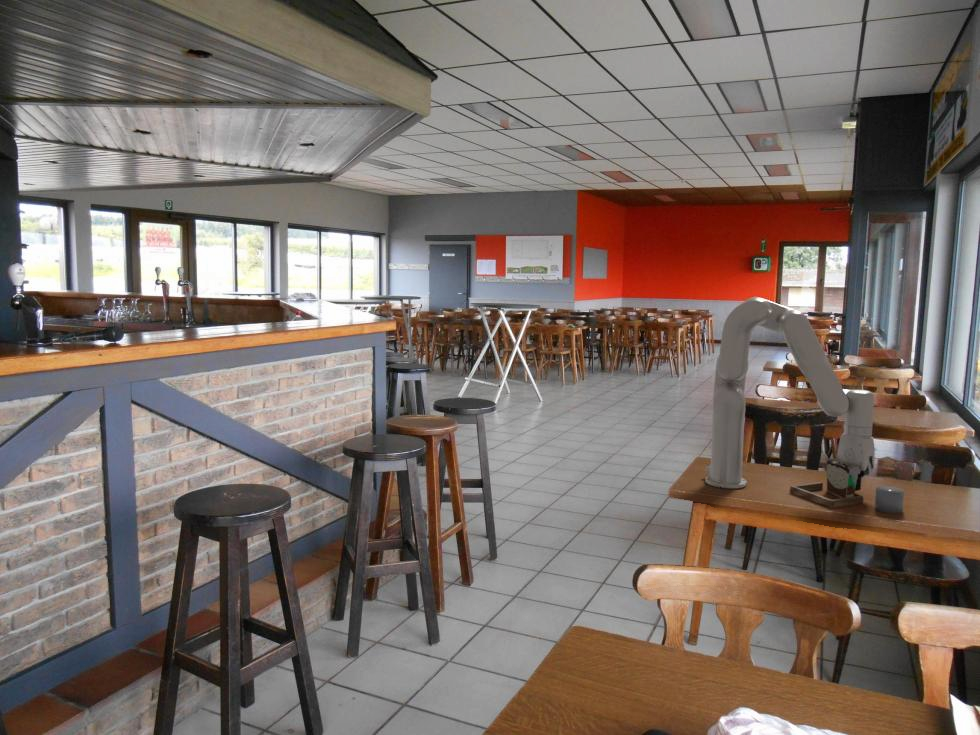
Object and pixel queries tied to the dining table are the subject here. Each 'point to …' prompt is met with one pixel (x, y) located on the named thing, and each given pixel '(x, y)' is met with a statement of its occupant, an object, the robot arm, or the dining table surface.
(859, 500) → the frame
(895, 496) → the grey glossy rounded part
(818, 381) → the robot arm
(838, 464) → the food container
